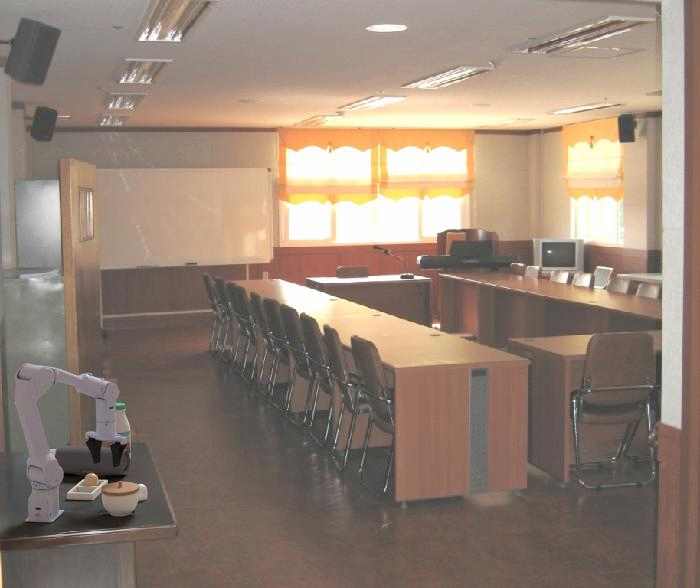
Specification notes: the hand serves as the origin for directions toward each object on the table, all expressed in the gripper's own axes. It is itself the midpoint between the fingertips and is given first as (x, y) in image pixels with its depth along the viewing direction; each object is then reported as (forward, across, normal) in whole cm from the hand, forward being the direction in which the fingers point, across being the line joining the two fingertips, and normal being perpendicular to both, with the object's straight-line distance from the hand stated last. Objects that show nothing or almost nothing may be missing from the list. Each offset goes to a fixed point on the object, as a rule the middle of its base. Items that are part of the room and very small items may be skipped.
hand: (106, 464), depth 294 cm
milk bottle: (+11, +24, -34) cm, 43 cm away
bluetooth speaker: (+11, +20, -16) cm, 27 cm away
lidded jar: (+11, -13, +9) cm, 19 cm away
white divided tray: (+10, +8, 0) cm, 13 cm away
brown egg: (+10, +9, -3) cm, 14 cm away
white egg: (+10, -10, -3) cm, 15 cm away
